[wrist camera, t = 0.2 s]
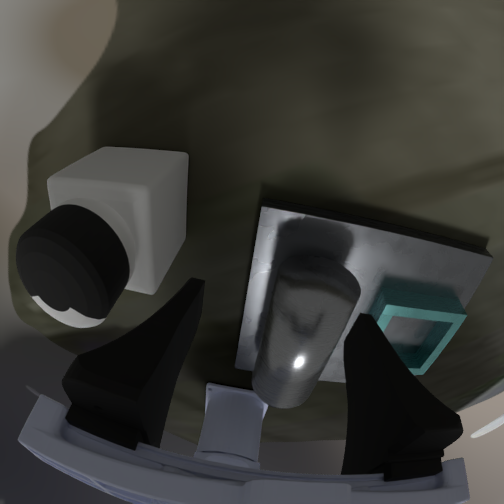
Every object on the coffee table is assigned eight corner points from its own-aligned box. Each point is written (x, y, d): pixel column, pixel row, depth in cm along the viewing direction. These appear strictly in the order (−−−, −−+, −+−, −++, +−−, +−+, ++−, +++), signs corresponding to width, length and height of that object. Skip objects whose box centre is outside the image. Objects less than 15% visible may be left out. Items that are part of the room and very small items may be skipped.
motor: (405, 375, 31) (415, 426, 25) (236, 356, 31) (225, 414, 25) (485, 248, 21) (524, 300, 15) (263, 197, 21) (252, 252, 15)
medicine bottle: (103, 145, 20) (-13, 217, 10) (190, 151, 20) (97, 238, 10) (109, 226, 24) (25, 322, 14) (187, 239, 24) (124, 359, 14)
